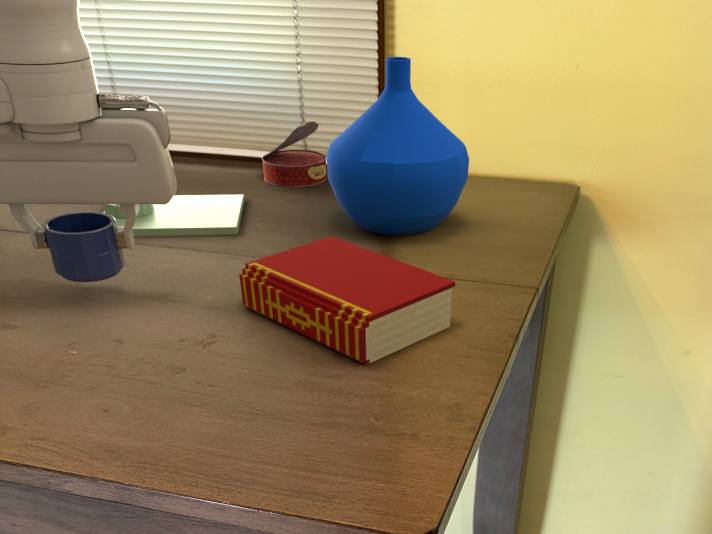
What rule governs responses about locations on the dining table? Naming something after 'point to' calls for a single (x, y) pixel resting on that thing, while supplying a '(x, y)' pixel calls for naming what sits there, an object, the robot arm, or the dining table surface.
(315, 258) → the book
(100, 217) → the cup
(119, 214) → the scale
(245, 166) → the dining table surface
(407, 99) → the vase
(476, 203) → the dining table surface
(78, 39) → the robot arm
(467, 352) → the dining table surface
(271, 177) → the canned food
